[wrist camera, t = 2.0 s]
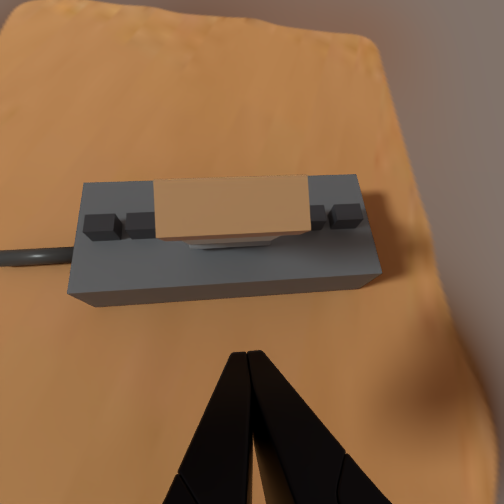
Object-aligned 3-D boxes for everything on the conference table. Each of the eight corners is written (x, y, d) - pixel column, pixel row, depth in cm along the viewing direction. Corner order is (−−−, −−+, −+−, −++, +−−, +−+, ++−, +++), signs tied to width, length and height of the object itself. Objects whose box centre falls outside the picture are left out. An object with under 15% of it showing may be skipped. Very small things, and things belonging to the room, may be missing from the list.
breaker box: (358, 288, 23) (393, 266, 18) (-18, 315, 21) (-96, 296, 16) (338, 202, 26) (363, 162, 21) (7, 215, 24) (-52, 173, 19)
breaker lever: (270, 246, 20) (311, 230, 10) (189, 250, 19) (155, 237, 10) (268, 216, 20) (307, 174, 11) (187, 220, 19) (153, 179, 10)
